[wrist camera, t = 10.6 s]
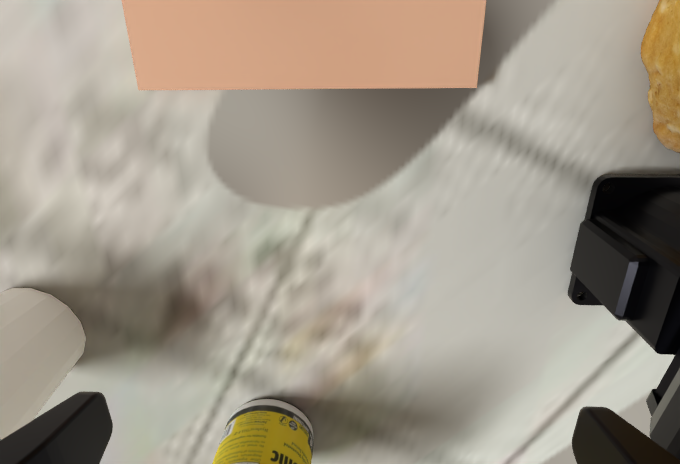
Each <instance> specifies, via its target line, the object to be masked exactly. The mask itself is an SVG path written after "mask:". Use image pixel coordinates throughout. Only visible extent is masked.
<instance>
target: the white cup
mask: <svg viewBox="0 0 680 464" xmlns="http://www.w3.org/2000/svg"><path fill="white" fill-rule="evenodd" d="M85 342H86V336H85V333H84V330H83V327H82V324H81V322H80V320H79V319H78V318H77V317H76V315H75V314H74V313H73V312H72V310H71V309H70V308H69V307H68V306H67V305H65V304H64V303H62V302H61V301H59V300H58V299H57V298H55V297H54V296H52V295H51V294H48V293H45V292H41V291H38V290H35V289H32V288H10V289H8V290H6V291H4V292H1V293H0V440H2V439H3V438H5V437H7V436H8V435H10V434H11V433H13V432H15V431H16V430H18V429H20V428H21V427H23V426H24V425H26V424H28V423H29V422H31V421H32V420H33V419H34V418H35V416H36V415H37V414H38V412H39V411H40V410H41V409H42V407H43V406H44V405H45V403H46V402H47V401H48V399H49V398H50V397H51V395H52V394H53V393H54V391H55V390H56V389H57V387H58V386H59V385H60V383H61V382H62V381H63V379H64V378H65V377H66V375H67V374H68V373H69V371H70V370H71V369H72V368H73V366H74V365H75V364H76V362H77V361H78V360H79V358H80V357H81V356H82V354H83V353H84V348H85Z"/></svg>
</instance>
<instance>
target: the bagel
mask: <svg viewBox="0 0 680 464" xmlns="http://www.w3.org/2000/svg"><path fill="white" fill-rule="evenodd" d="M641 58H642V61H643V63H644V65H645V67H646V70H647V72H648V74H649V81H650V89H649V91H648V101H649V104H650V107H651V109H652V111H653V120H654V122H653V129H654V133H655V134H656V135H657V137H658V139H659V141H660V142H661V143H662V144H663V145H664V146H665V147H666V148H667V149H669V150H673V151H675V152H678V153H680V0H660V1H659V3H658V5H657V7H656V10H655V11H654V13H653V15H652V18H651V21H650V23H649V25H648V27H647V29H646V33H645V35H644V38H643V41H642V44H641Z"/></svg>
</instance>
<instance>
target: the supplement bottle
mask: <svg viewBox="0 0 680 464" xmlns="http://www.w3.org/2000/svg"><path fill="white" fill-rule="evenodd" d="M313 440H314V435H313V429H312V426H311V424H310V422H309V420H308V419H307V417H306V416H305V415H304V414H303V413H302V412H301V411H300V410H298V409H297V408H296V407H294V406H292V405H290V404H288V403H286V402H283V401H279V400H273V399H261V400H255V401H251V402H248V403H246V404H244V405H242V406H240V407H239V408H238V409H237V410H236V411H235V412H234V413H233V414H232V415H231V417H230V419H229V421H228V423H227V425H226V428H225V431H224V433H223V436H222V439H221V442H220V444H219V447H218V450H217V452H216V455H215V458H214V461H213V463H212V464H311V459H312V452H313Z"/></svg>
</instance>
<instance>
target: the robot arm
mask: <svg viewBox="0 0 680 464" xmlns="http://www.w3.org/2000/svg"><path fill="white" fill-rule="evenodd" d="M607 183H610V187H609V189H607V190H606V191H603V187H604V185H605V184H607ZM570 270H571V271H572V276H571V281H570V285H569V289H568V296H569V298H570V299H571V300H572V301H573V302H574V303H575V304H578V305H604V306H605V307H606V308H607V309H608V310H609V311H610V312H611V314H612V315H613V316H614V317H615V318H616V319H618V320H625V321H626V322H627V323H628V324H629V325H630V326H631V327H632V328H633V329H634V330H635V331H636V332H637V333H638V334H639V335H640V336H641V337H642V338H643V339H644V340H645V341H646V342H647V343H648V344H649V345H650V346H651V347H652V348H653V349H654V350H655V351H656V352H657V353H659V354H673V355H675V357H674V359H673V360H672V362H671V364H670V366H669V368H668V369H667V371H666V373H665V375H664V377H663V378H662V380H661V382H660V384H659V385H658V387H657V389H653V390H652V391H651V393H650V395H649V396H648V398H647V401H646V402H647V405H648V408H649V410H650V413H651V416H652V417H651V423H650V438H651V439H650V438H649V437H647V436H646V435H644V434H643V433H642V432H640V431H639V430H638V429H636V428H635V427H634V426H632V425H631V424H629V423H628V422H626V421H625V420H624V419H623V418H621V417H620V416H618V415H617V414H616V413H614V412H613V411H611V410H610V409H608V408H605V407H583V408H582V409H581V410H580V413H579V416H578V419H577V423H576V427H575V430H574V434H573V438H572V448H573V453H574V456H575V459H576V462H577V464H680V175H603V176H600V177H599V178H597V179H596V180H595V181H594V183H593V186H592V190H591V194H590V199H589V203H588V207H587V212H586V216H585V220H584V221H583V222H582V223H581V224H580V228H579V232H578V237H577V241H576V246H575V250H574V254H573V259H572V263H571V267H570ZM580 292H583V294H582V295H580V296H577V294H578V293H580ZM112 428H113V425H112V420H111V416H110V413H109V409H108V406H107V403H106V399H105V397H104V395H103V394H102V393H100V392H79V393H77V394H75V395H73V396H71V397H70V398H68V399H67V400H65V401H63V402H62V403H60V404H58V405H57V406H55V407H54V408H52V409H50V410H49V411H47V412H45V413H44V414H42V415H41V416H39V417H37V418H36V419H34V420H33V421H31V422H29V423H28V424H26V425H24V426H23V427H21V428H20V429H18V430H16V431H15V432H13V433H11V434H10V435H8V436H7V437H5V438H3V439H2V440H0V464H99V463H100V461H101V458H102V456H103V454H104V451H105V449H106V447H107V444H108V442H109V440H110V437H111V434H112Z"/></svg>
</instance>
